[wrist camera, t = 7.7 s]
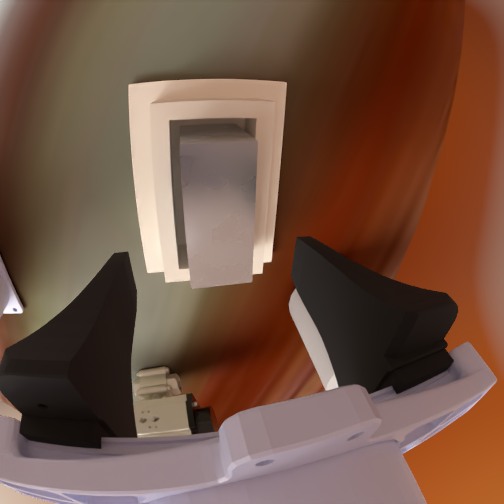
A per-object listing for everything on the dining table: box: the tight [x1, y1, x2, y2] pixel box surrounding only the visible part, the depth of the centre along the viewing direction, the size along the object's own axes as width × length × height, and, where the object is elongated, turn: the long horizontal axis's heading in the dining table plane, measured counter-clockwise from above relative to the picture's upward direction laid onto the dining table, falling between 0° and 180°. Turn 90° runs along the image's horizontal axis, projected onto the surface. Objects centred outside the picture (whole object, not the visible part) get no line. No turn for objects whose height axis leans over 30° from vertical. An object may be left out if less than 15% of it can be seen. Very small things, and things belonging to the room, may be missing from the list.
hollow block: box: [129, 79, 287, 282], centre depth 19 cm, size 10×14×4 cm
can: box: [289, 289, 338, 391], centre depth 24 cm, size 8×8×12 cm
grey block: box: [180, 123, 258, 289], centre depth 17 cm, size 4×8×6 cm, turn 178°
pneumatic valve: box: [133, 366, 219, 438], centre depth 26 cm, size 6×12×12 cm, turn 96°
